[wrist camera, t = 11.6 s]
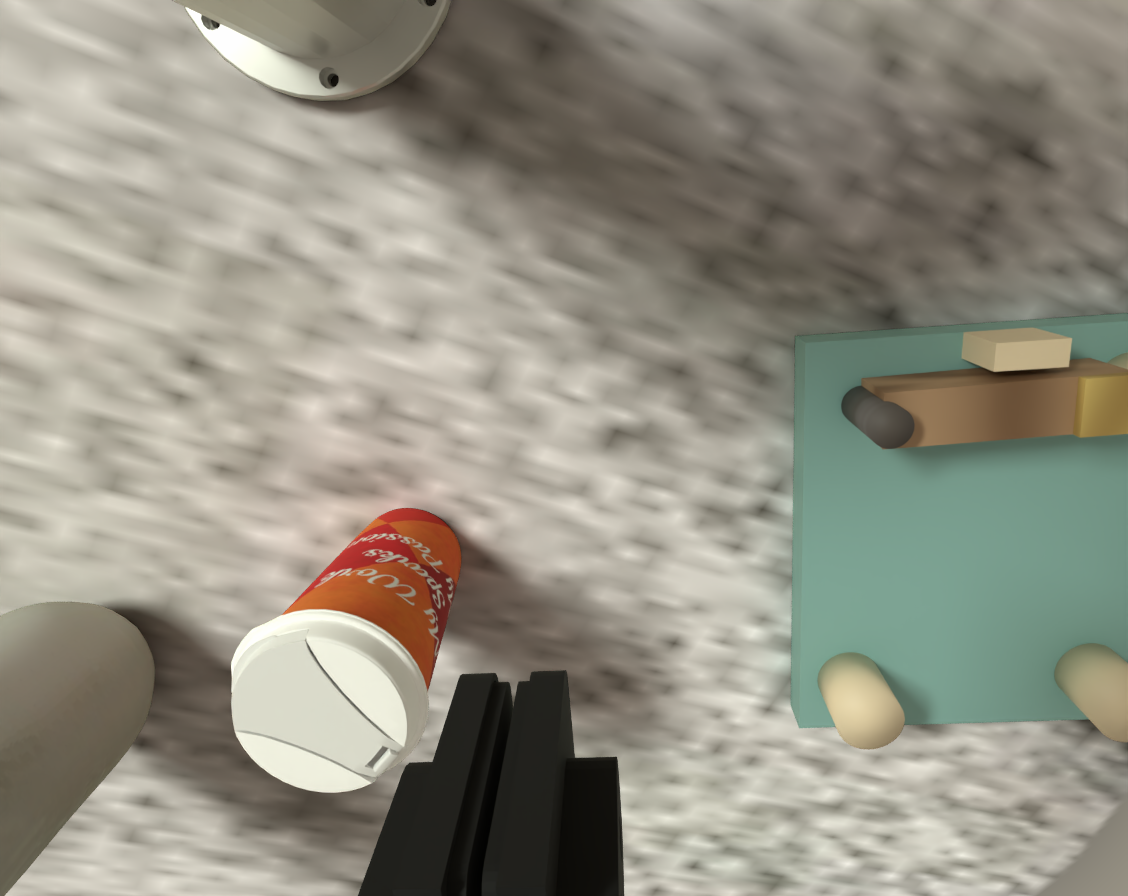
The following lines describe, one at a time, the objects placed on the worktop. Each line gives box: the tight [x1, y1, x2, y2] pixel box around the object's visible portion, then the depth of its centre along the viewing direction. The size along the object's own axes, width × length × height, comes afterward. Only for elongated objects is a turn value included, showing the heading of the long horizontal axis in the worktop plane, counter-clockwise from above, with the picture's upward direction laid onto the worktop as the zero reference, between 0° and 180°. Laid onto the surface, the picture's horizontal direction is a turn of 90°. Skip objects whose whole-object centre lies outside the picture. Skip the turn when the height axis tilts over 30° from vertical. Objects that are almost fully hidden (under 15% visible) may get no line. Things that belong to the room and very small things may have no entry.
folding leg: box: [841, 358, 1128, 450], centre depth 33 cm, size 11×2×4 cm, turn 96°
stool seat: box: [791, 313, 1128, 749], centre depth 36 cm, size 21×17×6 cm
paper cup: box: [231, 508, 461, 793], centre depth 34 cm, size 8×8×14 cm
